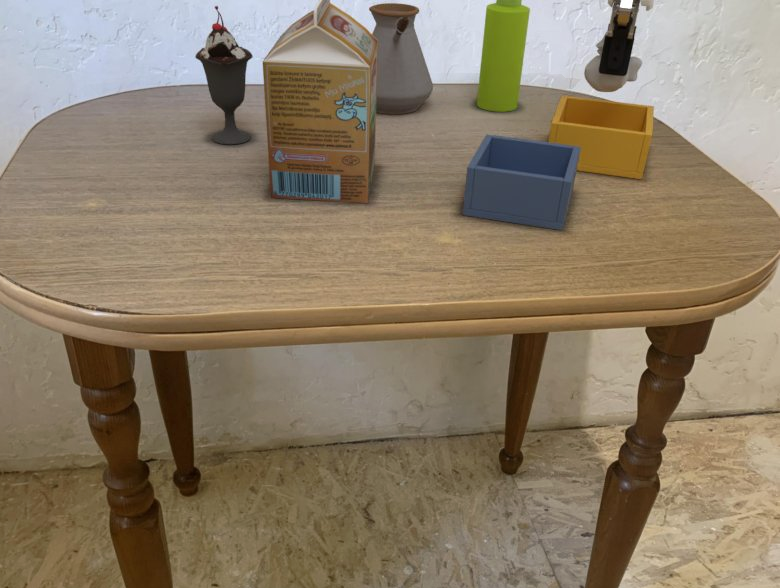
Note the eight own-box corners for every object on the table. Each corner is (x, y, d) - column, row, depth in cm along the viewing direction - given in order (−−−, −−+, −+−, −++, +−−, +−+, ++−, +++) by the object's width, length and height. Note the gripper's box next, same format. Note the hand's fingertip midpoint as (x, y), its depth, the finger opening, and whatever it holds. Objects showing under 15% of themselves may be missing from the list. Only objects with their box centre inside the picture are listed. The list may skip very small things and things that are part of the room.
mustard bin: (644, 147, 101) (654, 106, 97) (641, 179, 92) (652, 135, 89) (555, 135, 103) (561, 95, 100) (544, 166, 94) (551, 122, 91)
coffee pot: (351, 93, 115) (351, -20, 106) (427, 94, 116) (434, -17, 107) (354, 143, 98) (355, 15, 89) (444, 144, 99) (454, 17, 90)
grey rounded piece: (576, 83, 94) (588, 12, 90) (628, 85, 95) (643, 14, 90) (587, 97, 90) (601, 23, 85) (642, 98, 91) (659, 24, 86)
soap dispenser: (529, 110, 111) (552, -47, 99) (483, 112, 110) (500, -48, 98) (515, 98, 116) (535, -54, 104) (471, 100, 114) (486, -55, 102)
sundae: (230, 125, 102) (219, 0, 93) (268, 137, 99) (260, 9, 90) (193, 138, 97) (177, 8, 88) (231, 151, 94) (219, 18, 85)
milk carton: (286, 162, 92) (278, -15, 81) (374, 166, 92) (378, -10, 80) (270, 197, 84) (259, 6, 72) (367, 203, 84) (371, 11, 72)
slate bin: (572, 192, 88) (581, 146, 85) (562, 230, 80) (571, 181, 77) (481, 179, 90) (486, 134, 87) (462, 215, 82) (467, 166, 79)
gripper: (690, -107, 73) (644, 91, 84) (687, -119, 86) (648, 53, 97) (609, -112, 74) (574, 83, 85) (618, -123, 87) (587, 47, 98)
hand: (614, 65), depth 91 cm, fingers closed on grey rounded piece, 5 cm apart
